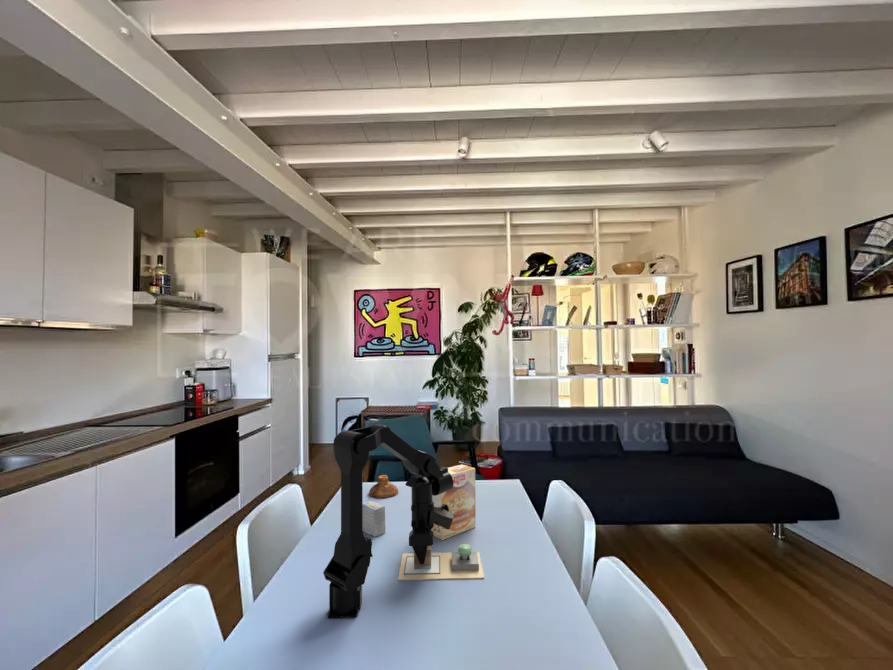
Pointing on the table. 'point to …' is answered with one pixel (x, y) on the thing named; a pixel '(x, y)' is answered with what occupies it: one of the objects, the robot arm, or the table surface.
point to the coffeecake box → (458, 502)
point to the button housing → (465, 562)
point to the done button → (464, 550)
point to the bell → (383, 488)
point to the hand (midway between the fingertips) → (422, 558)
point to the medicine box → (373, 518)
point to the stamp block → (427, 560)
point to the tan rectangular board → (436, 569)
